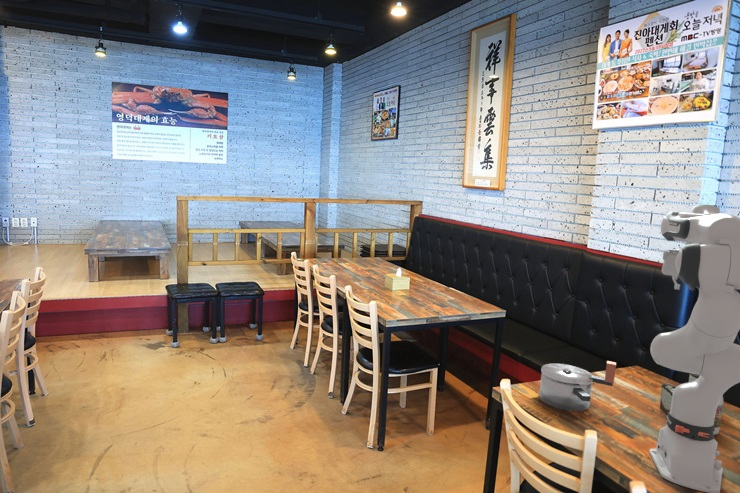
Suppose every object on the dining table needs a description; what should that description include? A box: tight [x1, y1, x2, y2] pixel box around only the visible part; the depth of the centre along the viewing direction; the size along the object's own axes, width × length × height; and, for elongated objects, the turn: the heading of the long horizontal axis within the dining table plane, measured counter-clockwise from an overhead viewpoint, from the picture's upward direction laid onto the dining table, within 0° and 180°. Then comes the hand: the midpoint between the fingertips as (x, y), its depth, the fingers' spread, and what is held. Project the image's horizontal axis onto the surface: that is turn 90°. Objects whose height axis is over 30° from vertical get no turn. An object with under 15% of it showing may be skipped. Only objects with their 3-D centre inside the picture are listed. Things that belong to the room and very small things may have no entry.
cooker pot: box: [538, 373, 593, 412], centre depth 184 cm, size 27×18×10 cm
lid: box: [540, 360, 617, 387], centre depth 184 cm, size 25×19×8 cm
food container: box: [659, 382, 678, 418], centre depth 180 cm, size 12×6×10 cm, turn 168°
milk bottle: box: [714, 394, 724, 436], centre depth 169 cm, size 8×8×20 cm
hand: (692, 291), depth 169 cm, fingers open, 8 cm apart
